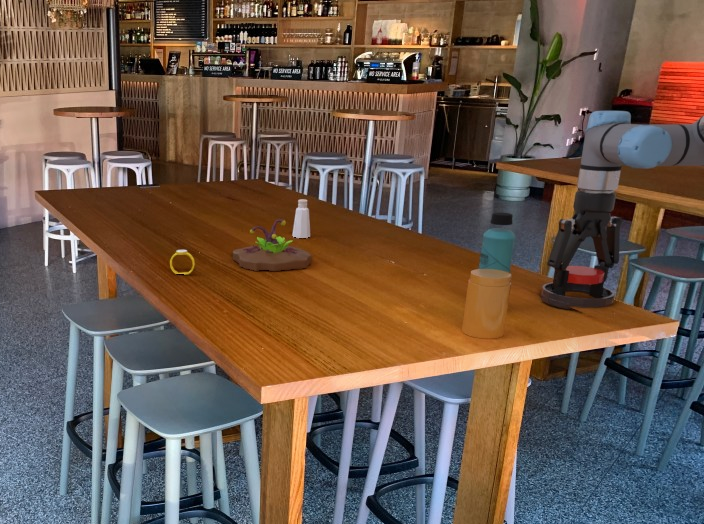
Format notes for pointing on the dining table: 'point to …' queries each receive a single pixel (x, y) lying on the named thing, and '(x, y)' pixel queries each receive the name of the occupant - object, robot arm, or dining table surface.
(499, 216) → the beverage bottle
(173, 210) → the dining table surface
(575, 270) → the cap
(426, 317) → the dining table surface
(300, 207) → the pepper shaker
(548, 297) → the dark grey ring
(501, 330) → the jar
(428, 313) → the dining table surface
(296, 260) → the plant
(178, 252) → the gold ring with gem
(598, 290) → the robot arm
